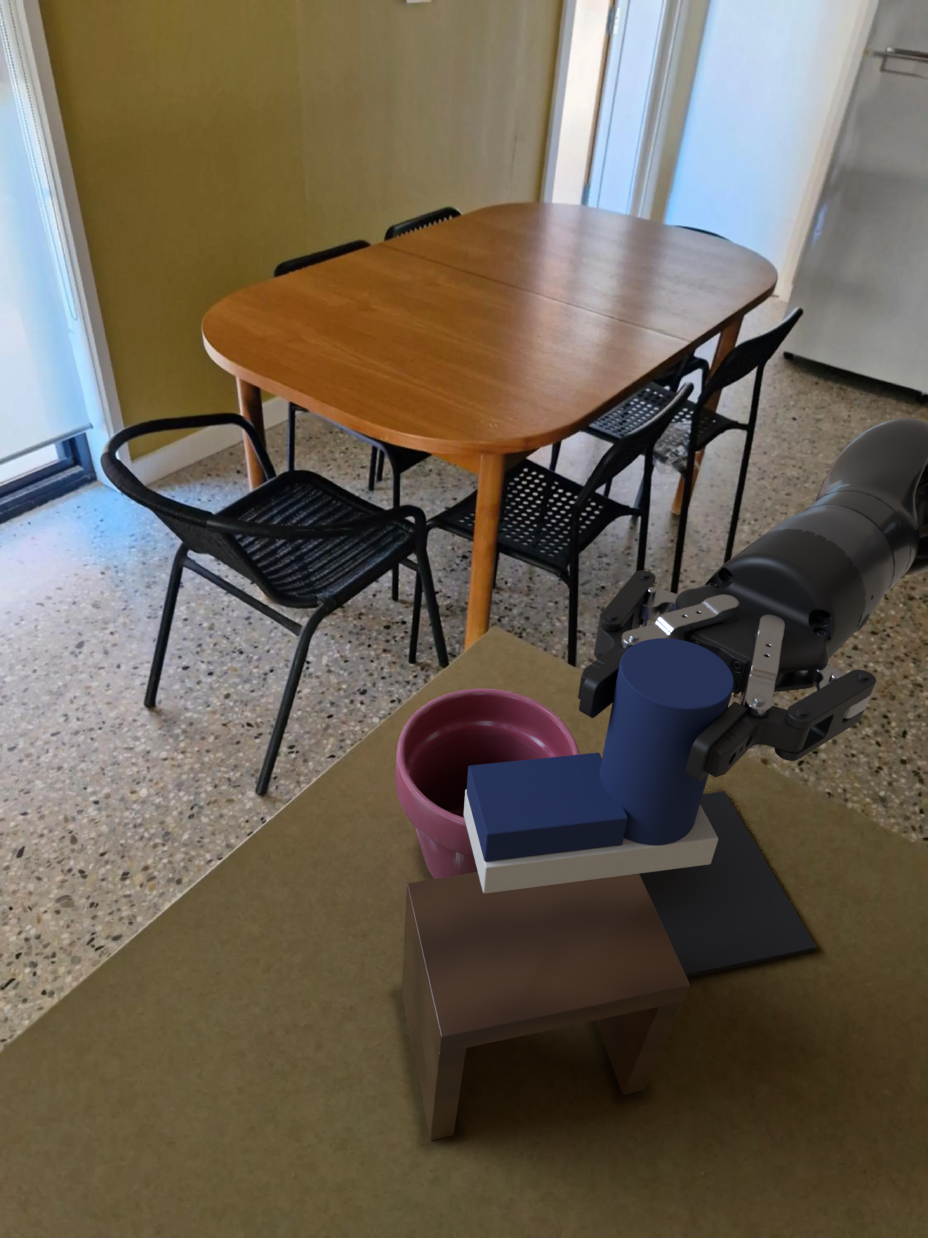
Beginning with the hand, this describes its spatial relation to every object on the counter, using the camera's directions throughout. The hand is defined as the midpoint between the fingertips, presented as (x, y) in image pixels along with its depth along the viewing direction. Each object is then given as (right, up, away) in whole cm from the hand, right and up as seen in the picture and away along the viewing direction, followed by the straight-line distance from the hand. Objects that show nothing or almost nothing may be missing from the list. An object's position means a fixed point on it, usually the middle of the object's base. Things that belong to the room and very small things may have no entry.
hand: (640, 730), depth 40 cm
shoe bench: (-4, -25, +22) cm, 34 cm away
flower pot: (-7, -15, +35) cm, 38 cm away
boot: (-2, -6, +6) cm, 9 cm away
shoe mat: (+12, -17, +34) cm, 40 cm away
